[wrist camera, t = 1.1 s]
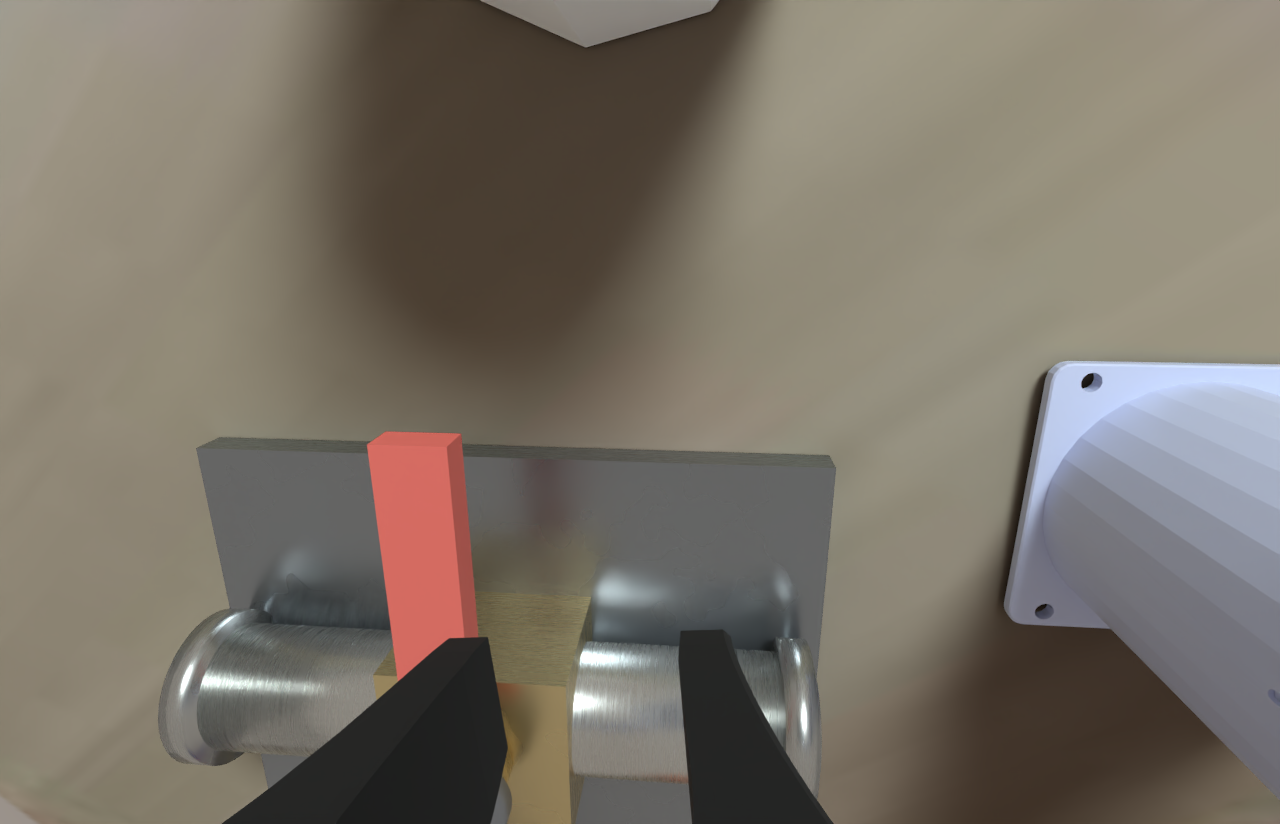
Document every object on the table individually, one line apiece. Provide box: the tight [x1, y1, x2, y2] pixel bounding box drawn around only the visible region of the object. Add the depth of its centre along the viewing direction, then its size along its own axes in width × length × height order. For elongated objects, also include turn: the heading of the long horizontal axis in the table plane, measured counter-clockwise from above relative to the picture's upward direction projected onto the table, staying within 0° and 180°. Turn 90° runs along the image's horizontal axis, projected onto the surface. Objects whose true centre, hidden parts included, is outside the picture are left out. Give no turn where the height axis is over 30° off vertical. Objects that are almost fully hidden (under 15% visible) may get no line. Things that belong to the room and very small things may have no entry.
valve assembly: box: [158, 437, 836, 824], centre depth 19 cm, size 19×14×6 cm
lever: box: [367, 432, 512, 824], centre depth 15 cm, size 11×3×1 cm, turn 0°
